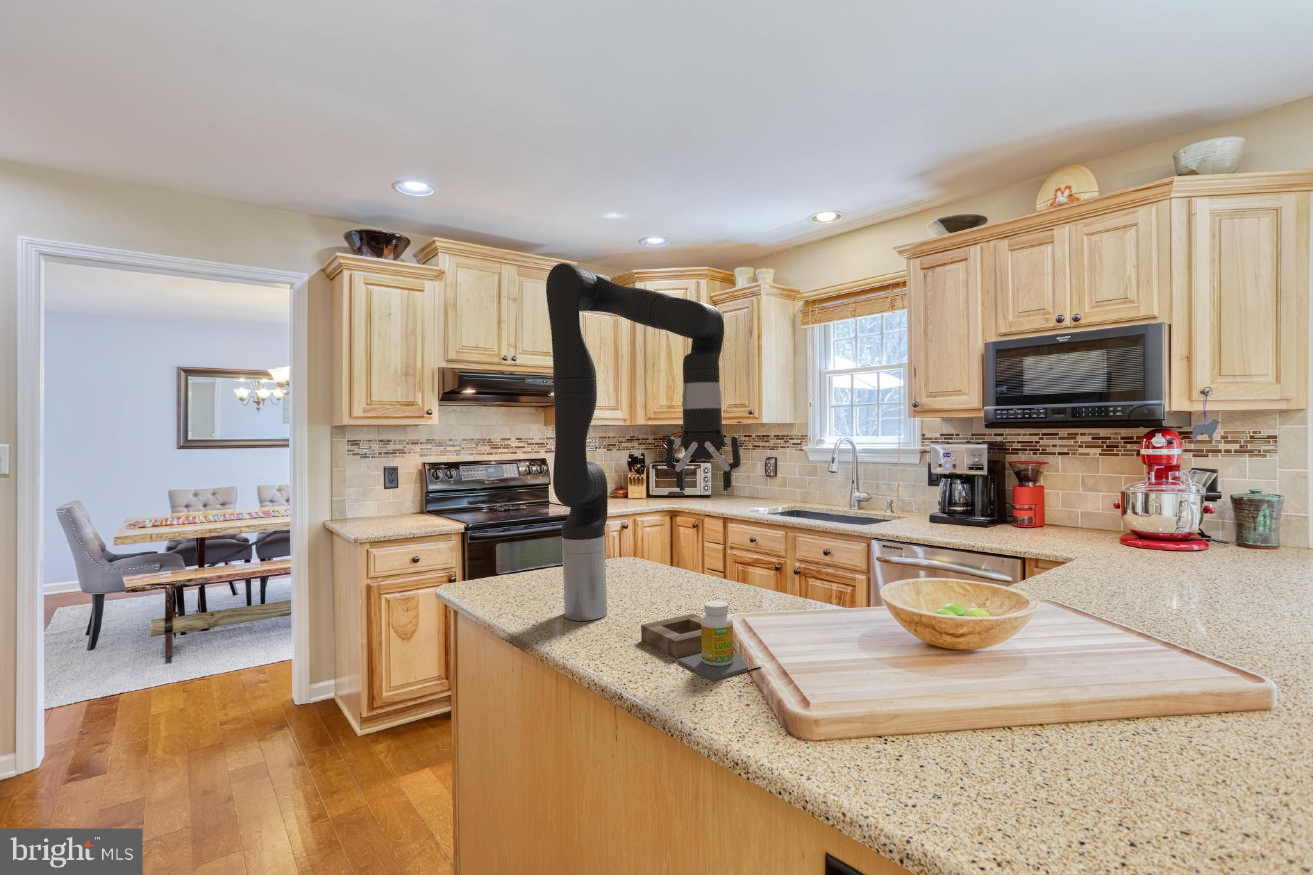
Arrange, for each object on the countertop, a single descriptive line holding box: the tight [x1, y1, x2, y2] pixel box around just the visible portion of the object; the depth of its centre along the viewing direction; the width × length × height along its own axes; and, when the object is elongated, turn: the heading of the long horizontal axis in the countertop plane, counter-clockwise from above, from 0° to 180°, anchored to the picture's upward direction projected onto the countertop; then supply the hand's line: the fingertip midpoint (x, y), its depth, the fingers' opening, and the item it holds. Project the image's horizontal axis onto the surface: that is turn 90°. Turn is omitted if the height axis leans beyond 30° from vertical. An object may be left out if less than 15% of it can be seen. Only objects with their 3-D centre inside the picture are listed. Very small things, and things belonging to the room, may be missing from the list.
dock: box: [640, 613, 703, 659], centre depth 123 cm, size 12×12×3 cm
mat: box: [677, 651, 748, 682], centre depth 111 cm, size 10×10×1 cm
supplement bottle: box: [701, 600, 735, 666], centre depth 111 cm, size 5×5×10 cm
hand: (703, 490), depth 128 cm, fingers open, 8 cm apart
